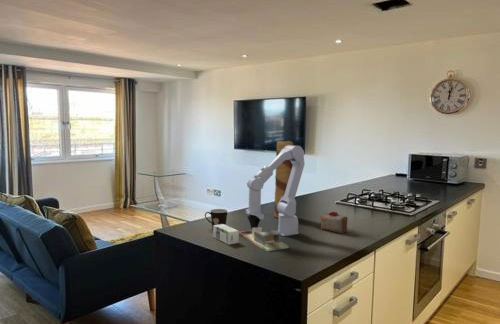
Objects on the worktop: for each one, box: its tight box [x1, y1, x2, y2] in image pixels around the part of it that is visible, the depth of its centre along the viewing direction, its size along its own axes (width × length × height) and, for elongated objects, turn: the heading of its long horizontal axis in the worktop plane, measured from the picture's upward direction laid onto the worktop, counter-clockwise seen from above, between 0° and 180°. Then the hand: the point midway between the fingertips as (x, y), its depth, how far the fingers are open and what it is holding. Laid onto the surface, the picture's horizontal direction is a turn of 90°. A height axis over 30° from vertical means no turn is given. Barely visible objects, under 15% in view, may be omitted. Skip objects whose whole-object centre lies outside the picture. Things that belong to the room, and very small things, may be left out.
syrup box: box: [212, 224, 240, 245], centre depth 167 cm, size 6×6×14 cm
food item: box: [320, 211, 349, 234], centre depth 186 cm, size 14×8×10 cm, turn 49°
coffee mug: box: [204, 208, 229, 230], centre depth 184 cm, size 12×9×10 cm
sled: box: [252, 226, 274, 243], centre depth 166 cm, size 5×12×4 cm, turn 29°
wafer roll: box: [273, 140, 295, 219], centre depth 212 cm, size 10×11×45 cm
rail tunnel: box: [239, 229, 290, 252], centre depth 167 cm, size 11×28×6 cm, turn 29°
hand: (254, 230), depth 173 cm, fingers closed
